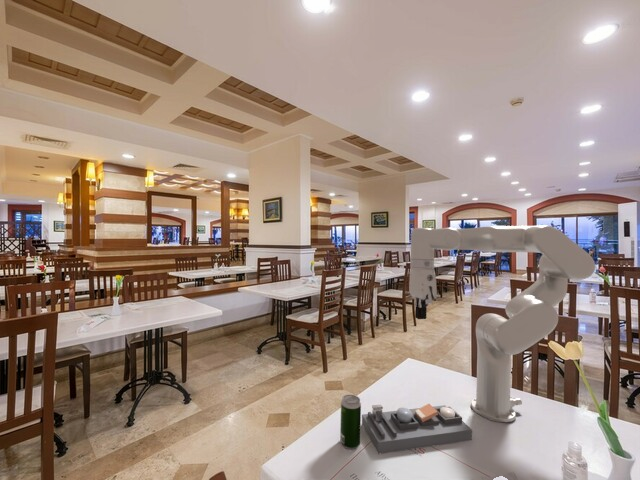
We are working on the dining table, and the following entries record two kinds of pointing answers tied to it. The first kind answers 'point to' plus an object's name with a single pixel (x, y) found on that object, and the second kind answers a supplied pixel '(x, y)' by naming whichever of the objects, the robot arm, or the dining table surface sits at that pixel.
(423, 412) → the rocker switch
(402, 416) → the grey dome
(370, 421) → the switch panel
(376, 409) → the slide paddle
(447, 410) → the white dome button
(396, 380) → the dining table surface
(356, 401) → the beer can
